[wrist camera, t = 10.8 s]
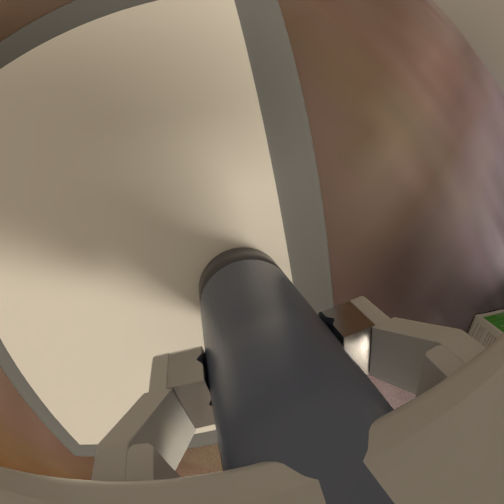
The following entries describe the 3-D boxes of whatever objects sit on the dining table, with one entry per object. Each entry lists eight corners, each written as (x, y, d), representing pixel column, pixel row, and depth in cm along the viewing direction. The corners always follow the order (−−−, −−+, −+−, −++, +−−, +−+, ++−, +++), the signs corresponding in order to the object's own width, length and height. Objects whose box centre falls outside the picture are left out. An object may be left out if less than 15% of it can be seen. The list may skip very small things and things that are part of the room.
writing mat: (333, 400, 17) (338, 409, 17) (76, 450, 15) (74, 458, 14) (261, -32, 8) (266, -41, 8) (-67, 106, 6) (-76, 105, 5)
